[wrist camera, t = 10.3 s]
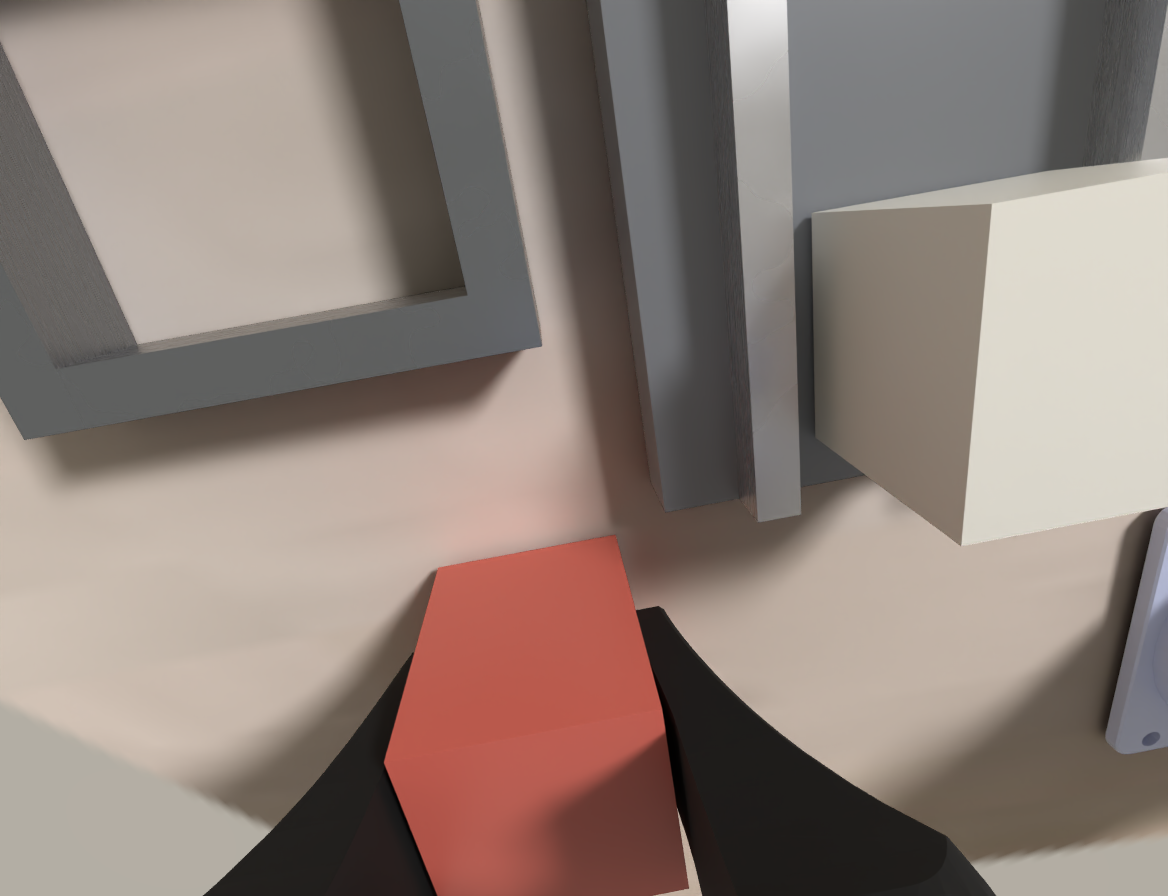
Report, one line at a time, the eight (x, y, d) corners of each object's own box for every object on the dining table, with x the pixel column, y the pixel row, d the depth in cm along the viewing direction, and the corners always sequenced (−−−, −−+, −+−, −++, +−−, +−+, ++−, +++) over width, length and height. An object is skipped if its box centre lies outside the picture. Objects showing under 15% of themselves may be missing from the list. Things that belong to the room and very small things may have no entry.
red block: (615, 534, 13) (662, 708, 8) (638, 673, 14) (689, 888, 10) (438, 567, 13) (384, 762, 8) (479, 703, 14) (453, 935, 10)
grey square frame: (427, -266, 8) (397, -408, 6) (540, 326, 11) (542, 345, 9) (-174, -169, 8) (-383, -287, 6) (108, 404, 11) (24, 439, 9)
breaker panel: (1249, -579, 8) (1551, -916, 6) (1087, 399, 13) (1209, 437, 11) (523, -466, 8) (521, -769, 5) (650, 481, 13) (676, 538, 10)
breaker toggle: (1047, 170, 10) (1375, 135, 6) (1019, 399, 11) (1267, 487, 7) (811, 212, 9) (991, 204, 6) (815, 437, 11) (961, 546, 7)
